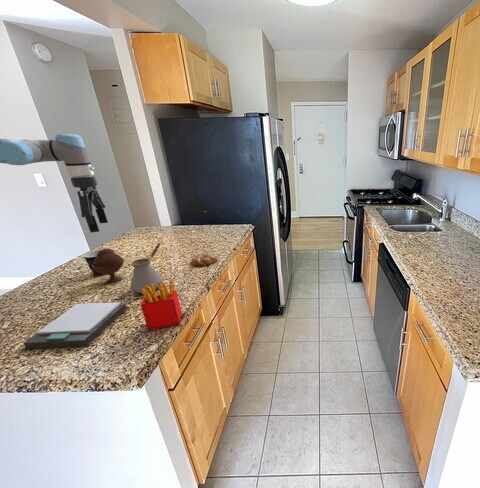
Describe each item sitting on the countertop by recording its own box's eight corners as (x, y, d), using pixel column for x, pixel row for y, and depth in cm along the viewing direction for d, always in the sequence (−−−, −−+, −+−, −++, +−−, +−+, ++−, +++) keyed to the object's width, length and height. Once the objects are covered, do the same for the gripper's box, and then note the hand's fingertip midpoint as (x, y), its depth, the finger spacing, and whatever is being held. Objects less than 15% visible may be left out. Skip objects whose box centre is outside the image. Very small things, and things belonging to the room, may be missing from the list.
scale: (26, 349, 77) (21, 340, 76) (78, 310, 95) (75, 303, 94) (86, 346, 78) (82, 338, 77) (126, 308, 96) (124, 301, 95)
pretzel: (220, 257, 138) (219, 251, 136) (212, 266, 128) (211, 260, 126) (197, 257, 137) (196, 251, 136) (188, 267, 127) (186, 260, 126)
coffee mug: (103, 268, 126) (96, 249, 123) (119, 269, 125) (112, 250, 121) (79, 279, 116) (71, 259, 112) (96, 281, 114) (88, 260, 111)
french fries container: (153, 318, 90) (142, 284, 85) (182, 313, 94) (174, 279, 88) (148, 331, 84) (136, 295, 79) (179, 325, 87) (170, 289, 82)
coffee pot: (155, 296, 103) (145, 262, 98) (125, 297, 103) (114, 263, 97) (180, 271, 123) (173, 242, 118) (155, 271, 123) (147, 242, 117)
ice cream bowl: (92, 285, 111) (80, 253, 106) (119, 273, 121) (109, 243, 115) (109, 289, 108) (97, 257, 102) (135, 277, 118) (125, 246, 112)
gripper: (84, 179, 94) (102, 234, 102) (102, 172, 115) (117, 218, 123) (56, 181, 91) (78, 237, 99) (81, 173, 112) (97, 220, 120)
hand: (99, 227), depth 111 cm, fingers open, 13 cm apart
